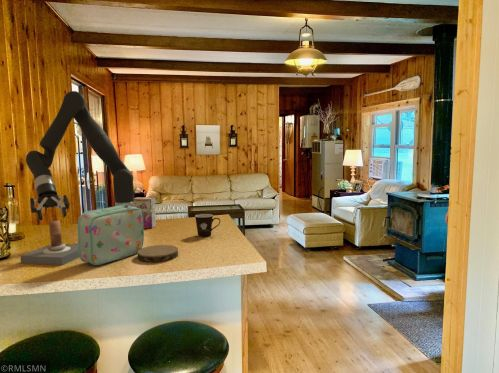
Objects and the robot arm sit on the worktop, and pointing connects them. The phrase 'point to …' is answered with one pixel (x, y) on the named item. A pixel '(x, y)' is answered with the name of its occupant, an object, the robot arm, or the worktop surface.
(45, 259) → the plate
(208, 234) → the coffee mug
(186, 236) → the worktop surface
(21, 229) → the worktop surface
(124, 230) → the lunch box
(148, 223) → the candy bar box
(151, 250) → the wood slice
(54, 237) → the handle
